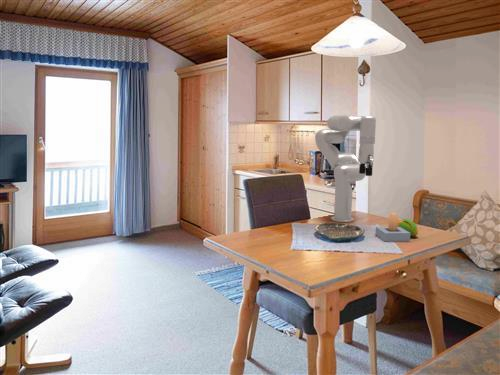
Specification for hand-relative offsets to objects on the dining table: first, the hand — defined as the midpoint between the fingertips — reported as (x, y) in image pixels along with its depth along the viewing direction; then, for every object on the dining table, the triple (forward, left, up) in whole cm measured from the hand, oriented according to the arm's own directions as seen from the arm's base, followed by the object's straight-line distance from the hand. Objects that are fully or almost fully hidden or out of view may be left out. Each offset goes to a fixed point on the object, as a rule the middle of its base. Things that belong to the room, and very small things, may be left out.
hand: (365, 174), depth 217 cm
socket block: (+19, +8, -28) cm, 35 cm away
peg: (+19, +8, -28) cm, 35 cm away
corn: (+11, +18, -29) cm, 35 cm away
